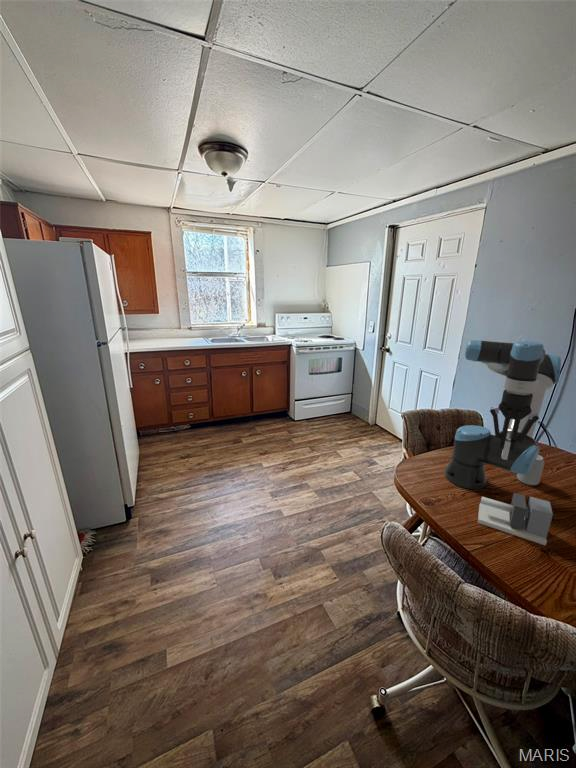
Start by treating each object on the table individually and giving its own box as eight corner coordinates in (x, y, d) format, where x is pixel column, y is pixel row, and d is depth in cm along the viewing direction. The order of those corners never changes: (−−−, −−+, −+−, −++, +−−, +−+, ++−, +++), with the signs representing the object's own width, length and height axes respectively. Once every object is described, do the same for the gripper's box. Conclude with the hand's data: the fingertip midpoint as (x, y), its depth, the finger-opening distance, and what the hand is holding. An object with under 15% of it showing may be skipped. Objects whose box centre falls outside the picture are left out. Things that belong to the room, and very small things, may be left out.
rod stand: (477, 522, 103) (483, 496, 100) (479, 506, 111) (484, 481, 108) (545, 545, 93) (553, 517, 90) (541, 525, 101) (549, 499, 98)
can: (511, 476, 129) (517, 451, 125) (528, 475, 129) (534, 450, 126) (526, 487, 121) (533, 460, 118) (543, 486, 122) (550, 459, 119)
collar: (510, 526, 98) (514, 505, 96) (509, 512, 105) (513, 492, 103) (521, 530, 97) (526, 509, 95) (519, 515, 103) (524, 495, 101)
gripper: (493, 391, 95) (481, 457, 102) (546, 398, 88) (529, 468, 95) (493, 385, 101) (481, 447, 108) (543, 391, 94) (527, 457, 101)
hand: (504, 457), depth 102 cm, fingers closed
